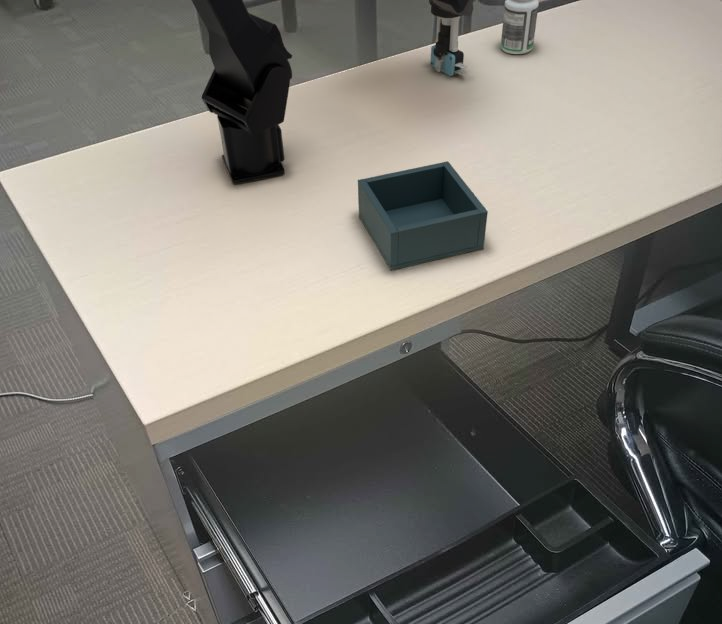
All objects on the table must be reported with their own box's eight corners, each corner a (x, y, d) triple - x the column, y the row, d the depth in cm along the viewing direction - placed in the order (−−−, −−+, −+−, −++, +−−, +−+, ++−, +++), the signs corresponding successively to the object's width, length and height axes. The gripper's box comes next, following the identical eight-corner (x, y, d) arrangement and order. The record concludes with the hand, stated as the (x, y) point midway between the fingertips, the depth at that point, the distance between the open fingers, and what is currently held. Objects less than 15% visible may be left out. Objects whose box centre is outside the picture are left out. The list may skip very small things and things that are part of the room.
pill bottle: (525, 39, 114) (533, -26, 107) (537, 52, 111) (547, -13, 104) (495, 43, 113) (501, -21, 106) (507, 57, 110) (514, -9, 103)
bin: (390, 270, 80) (390, 233, 76) (358, 216, 86) (357, 179, 83) (483, 249, 82) (488, 211, 78) (445, 197, 88) (448, 160, 85)
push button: (478, 73, 107) (485, -6, 99) (448, 84, 105) (453, 4, 97) (447, 57, 111) (452, -21, 103) (418, 68, 109) (421, -11, 101)
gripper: (483, -134, 80) (534, -42, 94) (361, -163, 89) (423, -75, 102) (429, -27, 83) (485, 47, 97) (316, -66, 92) (382, 7, 105)
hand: (443, 3), depth 100 cm, fingers open, 9 cm apart
